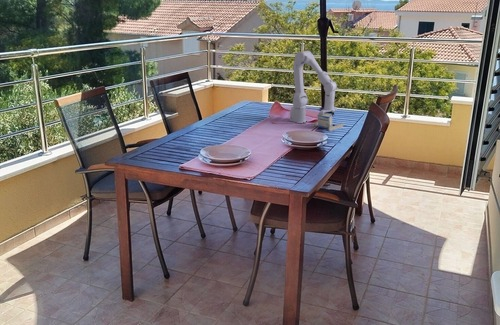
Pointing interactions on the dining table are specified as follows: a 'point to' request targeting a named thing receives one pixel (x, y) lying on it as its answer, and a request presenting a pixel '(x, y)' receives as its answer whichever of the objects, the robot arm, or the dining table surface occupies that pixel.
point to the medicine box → (325, 120)
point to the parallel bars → (330, 127)
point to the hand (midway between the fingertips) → (328, 123)
